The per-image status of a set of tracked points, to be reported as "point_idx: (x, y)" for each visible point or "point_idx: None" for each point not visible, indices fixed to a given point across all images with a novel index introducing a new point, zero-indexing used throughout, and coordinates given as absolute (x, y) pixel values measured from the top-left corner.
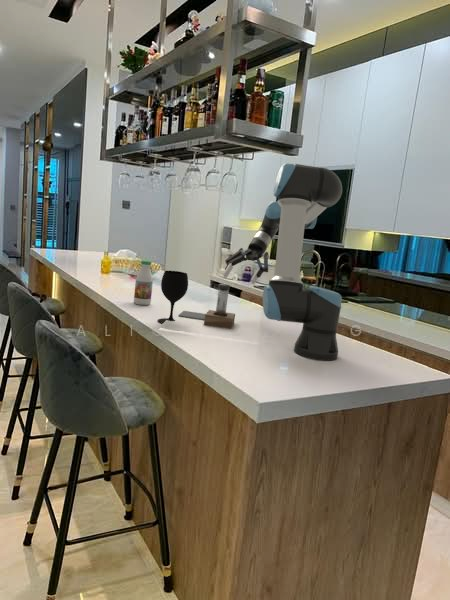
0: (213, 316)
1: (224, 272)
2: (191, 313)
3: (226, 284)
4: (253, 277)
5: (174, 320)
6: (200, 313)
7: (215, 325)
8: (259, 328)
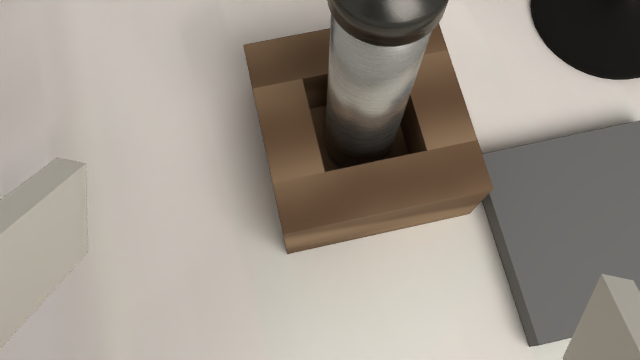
0: None
1: (634, 302)
2: (635, 251)
3: (387, 18)
4: (35, 182)
5: (591, 2)
6: None
7: None
8: (105, 326)
